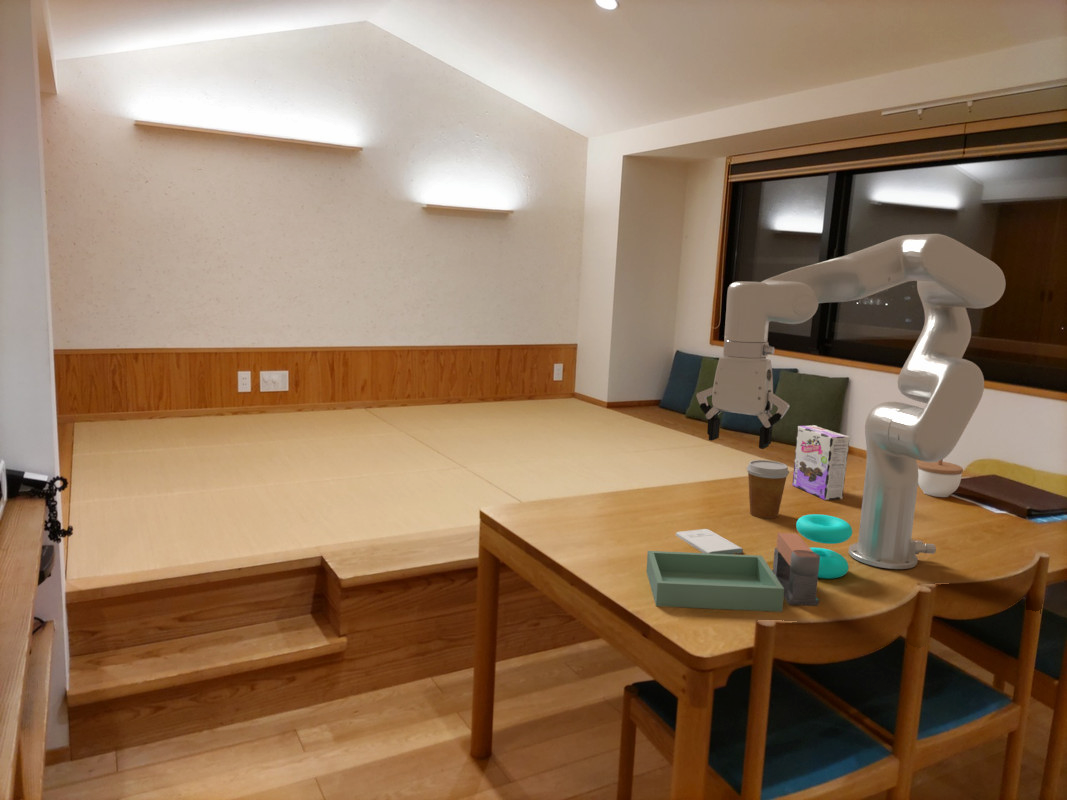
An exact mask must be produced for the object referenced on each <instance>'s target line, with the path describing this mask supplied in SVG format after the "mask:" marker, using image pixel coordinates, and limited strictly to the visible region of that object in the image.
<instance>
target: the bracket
mask: <svg viewBox="0 0 1067 800" xmlns="http://www.w3.org/2000/svg"><path fill="white" fill-rule="evenodd" d="M772 566H773V567H772V569H771V570H772V572H773V573H774V574H775V576H776V577H777V579H778V580H779V582H780V583H781V585H782V586H783V587H784V597H783V599H785V601H786V602H787V604H788V605H790V606H809V607H810V606H811V607H819V604H820V599H819V598H818V597H817V589H818V588H817V587H818V582H819V581H818V580H819V578H818V575H817V576H813V577H806V576H800V575H797V574H794V573H793V572H791V571H790V565H789V564H788V563H787V561H786V560H785V559H784V557H783V556H782V555H781V553H780V552H779V551H778V550H777V548H776V547H774V551H773V565H772Z"/></svg>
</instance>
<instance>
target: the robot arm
mask: <svg viewBox="0 0 1067 800" xmlns="http://www.w3.org/2000/svg"><path fill="white" fill-rule="evenodd" d="M914 281H915V282H917V283H916V288H917V294H918V295H919V298H920V301H921V303H922V307H923V311H924V323H923V324H924V325H923V327H922V329H921V333H920V335H919V336H918V338H917V340H916V342H915V344H914V345H913V347H912V350H911V351H910V353H909V355H908V357H907V359H906V360H905V362H904V364H903V366H902V368H901V370H900V373H899V374H898V378H897V388H898V390H899V392H900V393H901V394H902V395H904V397H906V398H908V399H910V400H913V401H916V402H920V403H923V404H925V406H924V408H923V407H919V406H916V405H912V404H908V403H904V402H898V401H885V402H882V403H879V404H877V405H876V406H874V407H873V408H872V409H871V410H870V411H869V413H868V415H867V417H866V420H865V424H864V437H865V444H866V445H865V446H866V462H865V463H866V467H865V474H864V483H863V484H864V485H863V494H862V501H861V503H862V504H861V511H860V513H861V514H860V519H859V521H860V523H859V531H858V539H857V542H854V543H852V544H850V545H849V547H848V554H849V555H850V557H851V558H853V559H854V560H856V561H858V562H860V563H863V564H866V565H867V566H868V565H869V566H872V567H876V568H881V569H887V570H888V569H889V570H907V569H912V568H914V567H915V566H917V564H918V556H917V555H919V554H921V553H922V554H923V553H924V554H933V555H934V554H936V551H937V548H936V545H935V544H934V543H924V541H922V540H916V539H914V538H912V536H913V535H912V534H913V528H914V527H913V525H914V517H915V509H916V500H917V493H918V487H919V485H918V477H919V473H918V465H917V462H918V461H923V462H938V461H940V460H942V459H943V460H944V459H945V458H947V457H948V456H949V455H950V454H951V452H952V451H953V450H954V449H955V447H956V446H957V443H958V442H959V441H960V439H961V437H962V435H963V434H964V432H965V429H966V428H967V426H968V424H969V423H970V420H971V419H972V417H973V415H974V414H975V411H976V409H977V408H978V406H979V404H980V402H981V400H982V397H983V393H984V389H985V378H984V377H985V376H984V375H983V374H984V373H983V372H982V370H981V368H980V367H979V366H978V365H977V364H976V363H974V362H973V361H970V360H968V359H965V358H963V357H964V354H965V352H966V350H967V348H968V346H969V344H970V342H971V336H972V325H971V322H970V318H969V315H968V311H967V308H968V309H985V308H988V307H989V308H990V307H991V306H993V305H995V304H996V303H997V302H998V301H1000V299H1001V298H1002V297H1003V295H1004V292H1005V290H1006V278H1005V275H1004V272H1003V270H1002V269H1001V268H1000V267H999V266H998V264H996V263H995V262H994V261H992V260H990V259H989V258H988V257H985V256H984V255H982V254H980V253H979V252H977V251H975V250H974V249H972V248H970V247H968V246H967V245H965V244H963V243H962V242H960V241H958V240H956V239H954V238H952V237H950V236H947V235H945V234H940V233H924V234H922V233H921V234H905V235H900V236H896V237H893V238H891V239H888V240H885V241H882V242H879V243H877V244H873V245H872V246H868V247H866V248H863V249H861V250H858V251H854V252H851V253H849V254H846V255H842V256H838V257H835V258H830V259H828V260H824V261H821V262H818V263H813V264H810V265H806V266H802V267H799V268H794V269H792V270H789V271H786V272H783V273H780V274H776V275H774V276H771V277H768V278H766V279H764V280H762V281H742V280H741V281H734V282H732V283H730V284H729V286H728V287H727V292H726V293H727V294H726V311H725V322H724V324H725V325H724V335H723V337H724V339H723V340H724V341H723V352H722V355H721V356H720V357H719V359H718V362H717V365H716V369H715V375H714V381H713V386H711V387H709V388H707V389H704V390H702V391H700V392H697V393H696V394H695V397H696V399H697V402H698V404H699V408H700V410H701V411H702V413H703V414H704V415H705V418H706V419H707V428H706V429H707V433H706V434H707V435H708V441H711V442H712V441H715V440H717V439H719V437H720V426H721V418H720V417H719V415H720V414H721V413H722V412H726V413H727V412H728V413H733V414H739V415H741V414H742V415H748V416H757V418H758V419H759V421H760V422H761V423H762V426H761V427H760V430H759V440H758V448H759V449H760V450H764V449H766V448H768V447H769V445H771V443H772V440H773V439H772V438H773V426H775V425H776V424H777V423H778V422H779V421H780V420H782V419H784V416H785V415H786V413H787V411H788V410H789V409H790V404H789V403H788V402H786V401H785V400H783V398H781V397H779V396H777V395H776V394H775V393H774V384H773V383H774V380H773V379H774V377H773V366H772V361H771V359H767V357H768V356H769V355H774V354H775V347H774V346H771V345H769V341H768V338H769V326H770V325H769V324H770V322H776V323H781V324H788V325H798V324H803V323H805V322H807V321H809V320H810V319H811V318H813V316H814V315H815V314H816V313H817V310H818V308H819V304H825V303H843V302H844V303H845V302H851V301H857V300H861V299H862V300H863V299H864V298H867V297H869V296H872V295H875V294H878V293H881V292H882V291H886V290H888V289H891V288H893V287H896V286H900V285H901V284H905V283H908V282H914ZM710 396H712V397H711V404H710V403H709V402H708V398H707V397H710ZM773 405H774V406H776V407H777V409H776V410H777V411H776V412H775V413H774V414H773V415H772V414H771V411H772V409H773Z"/></svg>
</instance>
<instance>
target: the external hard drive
mask: <svg viewBox="0 0 1067 800" xmlns="http://www.w3.org/2000/svg"><path fill="white" fill-rule="evenodd" d="M676 536H677V537H679V538H680V539H679V538H678V539H679V540H681V539H682V540H684V541H685V542H687V543H688V544H687V543H686V544H687V545H689V544H690V545H691V547H692V546H693V547H694V548H693V547H692V548H693V549H695V548H696V549H698V550H699V551H698V550H697V551H698V552H700V551H701V552H702V553H711V554H734V553H737V554H743V553H744V549H743V548H742V547H741V546H739V545H737V544H736V543H733V542H732V541H730V540H728V539H726V538H724V537H723V536H721V535H719V534H717V533H716V532H715V531H712V530H710V529H708V528H702V529H701V528H700V529H693V530H685V531H684V530H682V531H677V532H675V537H676ZM677 537H676V538H677ZM682 540H681V541H682ZM684 541H683V542H684ZM685 542H684V543H685ZM690 545H689V546H690ZM696 549H695V550H696ZM701 552H700V553H701ZM734 555H735V554H734Z"/></svg>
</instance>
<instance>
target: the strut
mask: <svg viewBox="0 0 1067 800" xmlns="http://www.w3.org/2000/svg"><path fill="white" fill-rule="evenodd" d="M776 538H777V539H776V546H775V548H777V550H778V551H779V552H780V553H781V555H782V556H783V557H784V559H785V560H786V561H787V563H788V564H789V565H790V571H791V572H793V573H794V574H797V575H800V576H806V577H813V576H817V575H818V572H819V562H820V556H819V555H818V554H817V553H814V552H813V551H812V550H811V549H810V548H811V547H809V545H808V544H807V543H806V542H805V541H804V540H803V538H802V537H801V536H800V535H799V534H798V533H794V532H793V533H792V532H791V533H790V532H777V537H776Z"/></svg>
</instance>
